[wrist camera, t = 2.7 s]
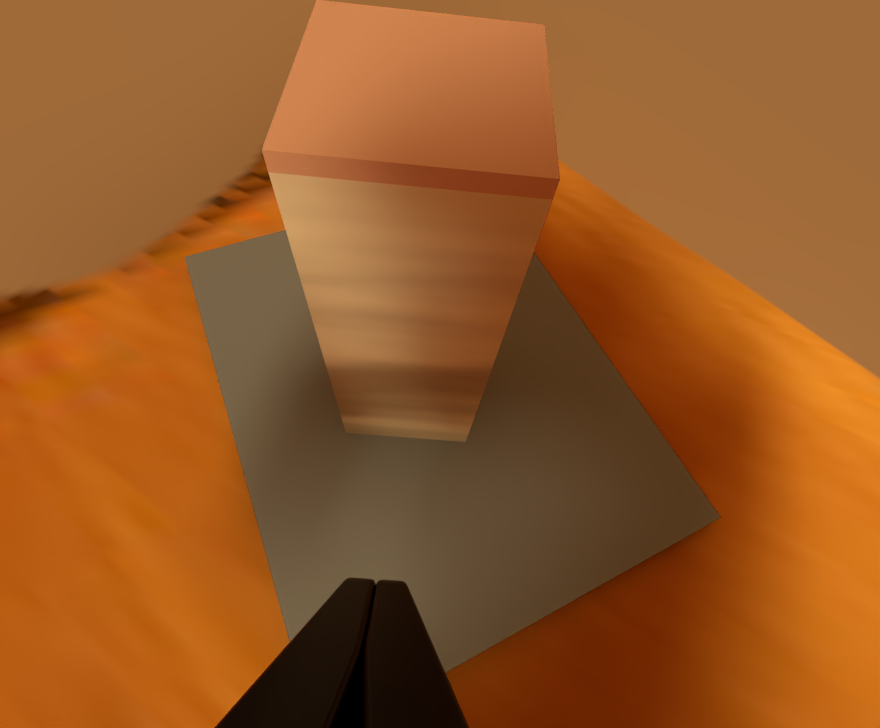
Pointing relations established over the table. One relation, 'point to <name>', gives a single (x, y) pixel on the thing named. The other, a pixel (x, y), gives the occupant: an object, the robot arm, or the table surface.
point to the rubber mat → (441, 464)
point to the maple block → (413, 202)
